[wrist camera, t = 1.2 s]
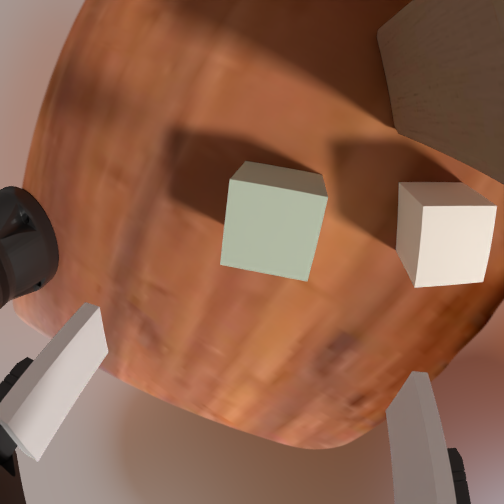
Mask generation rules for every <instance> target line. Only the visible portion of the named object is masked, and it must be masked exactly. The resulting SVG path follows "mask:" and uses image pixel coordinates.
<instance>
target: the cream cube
mask: <svg viewBox="0 0 504 504" xmlns="http://www.w3.org/2000/svg"><path fill="white" fill-rule="evenodd" d="M496 210H497V206H496V205H495V204H494V203H492V202H491V201H489V200H488V199H487V198H485V197H484V196H482V195H481V194H479V193H478V192H476V191H475V190H473V189H472V188H470V187H469V186H467V185H466V184H464V183H463V182H399V194H398V222H397V239H396V252H397V254H398V256H399V258H400V259H401V261H402V263H403V265H404V267H405V269H406V271H407V273H408V275H409V277H410V279H411V281H412V283H413V285H414V288H416V287H430V286H442V285H454V284H465V283H476V282H483V280H484V276H485V271H486V267H487V262H488V257H489V252H490V247H491V242H492V236H493V230H494V224H495V217H496Z"/></svg>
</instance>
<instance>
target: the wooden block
mask: <svg viewBox="0 0 504 504" xmlns="http://www.w3.org/2000/svg"><path fill="white" fill-rule="evenodd" d="M377 41H378V45H379V49H380V53H381V57H382V62H383V66H384V71H385V76H386V81H387V86H388V91H389V96H390V102H391V108H392V114H393V120H394V126H395V128H396V130H397V132H398V133H399V134H401V135H403V136H406V137H408V138H411V139H413V140H415V141H418V142H420V143H422V144H425V145H427V146H429V147H431V148H433V149H436V150H438V151H440V152H442V153H444V154H446V155H449V156H451V157H453V158H455V159H457V160H459V161H461V162H463V163H465V164H467V165H469V166H471V167H473V168H475V169H477V170H478V171H480V172H482V173H484V174H486V175H488V176H490V177H491V178H493V179H495V180H497V181H498V182H500V183H502V184H504V0H413V1H411V2H410V3H409V4H408V5H406V6H405V7H404V8H403V9H402V10H400V11H399V12H398V13H397V14H396V15H394V16H393V17H392V18H391V19H390V20H389V21H387V22H386V23H385V24H384V25H383V26H382V27H380V28H379V29H378V32H377Z"/></svg>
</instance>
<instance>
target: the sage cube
mask: <svg viewBox="0 0 504 504" xmlns="http://www.w3.org/2000/svg"><path fill="white" fill-rule="evenodd" d="M327 199H328V195H327V191H326V187H325V183H324V180H323V176H322V175H321V174H316V173H311V172H306V171H301V170H295V169H290V168H285V167H279V166H274V165H268V164H262V163H256V162H250V161H245V162H244V163H243V165H242V166H241V167H240V168H239V169H238V170H237V171H236V173H235V174H234V175H233V176H232V177H231V178H230V181H229V190H228V198H227V207H226V216H225V225H224V234H223V243H222V253H221V262H220V265H225V266H230V267H235V268H240V269H245V270H250V271H256V272H261V273H266V274H271V275H276V276H282V277H287V278H292V279H298V280H303V281H308V277H309V273H310V269H311V265H312V262H313V258H314V254H315V250H316V246H317V242H318V238H319V233H320V229H321V225H322V221H323V217H324V213H325V208H326V204H327Z"/></svg>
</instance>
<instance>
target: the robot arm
mask: <svg viewBox="0 0 504 504" xmlns="http://www.w3.org/2000/svg"><path fill="white" fill-rule="evenodd" d="M58 261H59V253H58V245H57V241H56V237H55V233H54V230H53V228H52V225H51V223H50V221H49V219H48V217H47V215H46V213H45V212H44V210H43V209H42V207H41V206H40V205H39V203H38V202H37V201H36V200H35V199H34V198H33V197H32V196H31V195H30V194H29V193H28V192H26V191H25V190H23V189H21V188H18V187H13V186H9V187H5V188H3V189H1V190H0V309H1V308H2V307H3V306H4V305H5V304H6V303H7V302H8V301H10V300H12V299H15V298H18V297H21V296H23V295H26V294H29V293H32V292H34V291H37V290H39V289H41V288H42V287H44V286H45V285H46V284H47V283H48V282H49V281H50V280H51V279H52V278H53V277H54V275H55V273H56V271H57V268H58ZM107 354H108V348H107V344H106V339H105V334H104V329H103V323H102V318H101V312H100V307H99V306H95V305H92V304H89V303H86V302H85V303H84V304H83V305H82V306H81V307H80V308H79V309H78V311H77V312H76V313H75V314H74V315H73V316H72V317H71V318H70V319H69V321H68V322H67V323H66V324H65V325H64V326H63V327H62V328H61V330H60V331H59V332H58V333H57V334H56V335H55V336H54V338H53V339H52V340H51V341H50V342H49V343H48V344H47V346H46V347H45V348H44V349H43V350H42V352H41V353H40V354H39V355H38V356H37V357H36V359H35V360H32V359H30V358H28V357H27V358H25V359H24V360H22V361H20V362H19V363H17V364H16V365H15V367H14V368H13V369H12V370H11V372H10V374H8V375H7V376H6V377H5V379H4V381H2V382H1V384H0V504H26V501H25V497H24V492H23V488H22V482H21V477H20V472H19V466H18V460H17V454H16V451H15V449H16V447H17V446H18V447H19V448H20V449H21V450H22V452H23V453H25V454H26V455H28V456H29V457H31V458H33V459H34V460H36V461H39V459H40V457H41V456H42V454H43V453H44V451H45V449H46V447H47V446H48V444H49V443H50V441H51V439H52V438H53V436H54V435H55V433H56V431H57V430H58V428H59V427H60V425H61V423H62V422H63V420H64V419H65V417H66V415H67V414H68V412H69V411H70V409H71V408H72V406H73V404H74V403H75V401H76V400H77V398H78V397H79V395H80V394H81V392H82V391H83V389H84V388H85V386H86V385H87V383H88V382H89V380H90V379H91V377H92V375H93V374H94V373H95V371H96V370H97V368H98V367H99V365H100V364H101V362H102V361H103V359H104V358H105V356H106V355H107ZM386 416H387V423H388V432H389V440H390V449H391V459H392V471H393V483H394V499H395V504H471V502H470V496H469V490H468V485H467V481H466V474H465V472H464V470H465V469H464V465H463V460H462V457H461V456H460V454H459V452H458V451H457V449H456V448H448V449H447V447H446V442H445V438H444V433H443V429H442V425H441V420H440V416H439V413H438V409H437V405H436V401H435V398H434V394H433V390H432V387H431V383H430V380H429V376H428V373H425V372H414V371H412V373H411V374H410V376H409V377H408V379H407V380H406V382H405V383H404V385H403V386H402V388H401V389H400V391H399V392H398V394H397V395H396V397H395V398H394V400H393V401H392V403H391V404H390V405H389V407H388V408H387V410H386Z"/></svg>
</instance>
